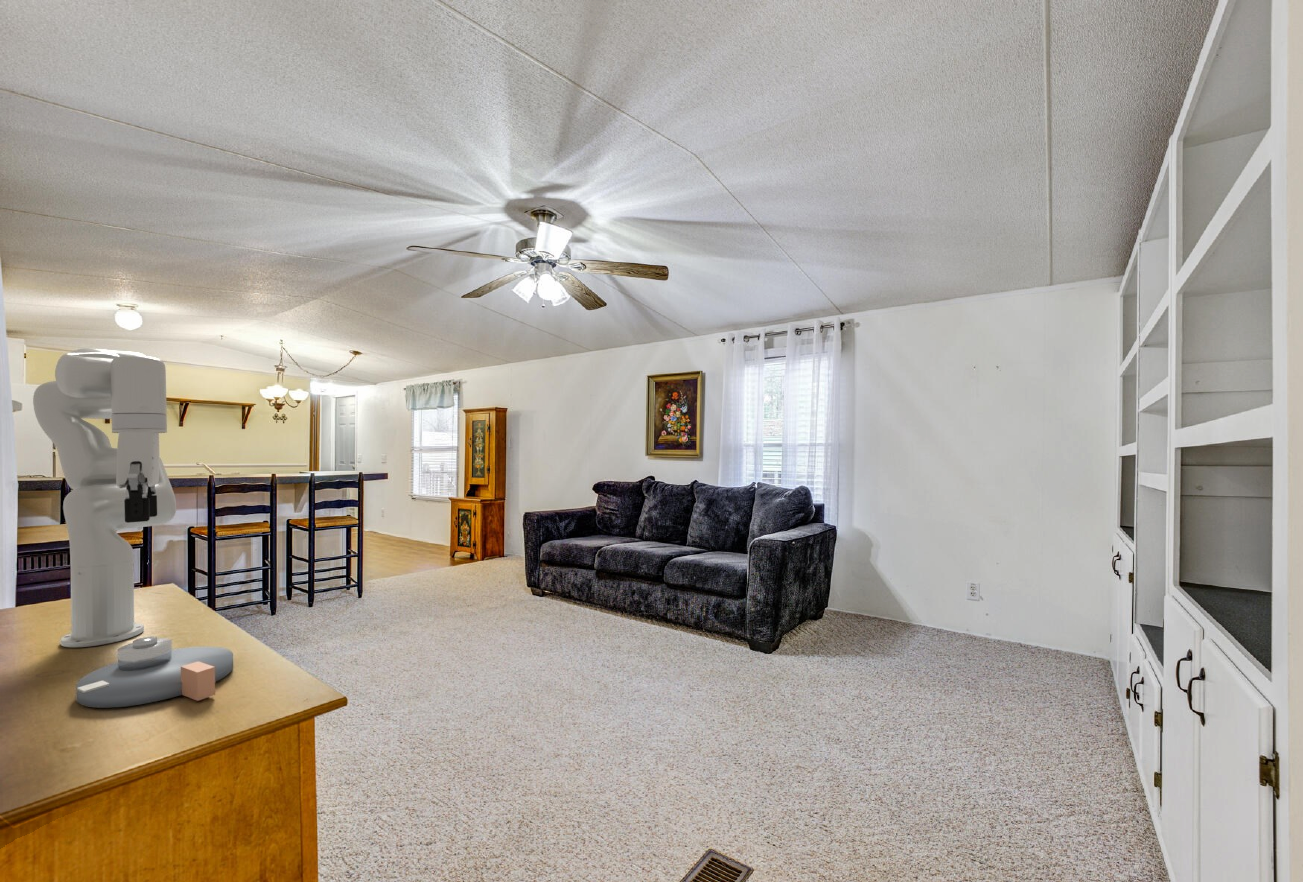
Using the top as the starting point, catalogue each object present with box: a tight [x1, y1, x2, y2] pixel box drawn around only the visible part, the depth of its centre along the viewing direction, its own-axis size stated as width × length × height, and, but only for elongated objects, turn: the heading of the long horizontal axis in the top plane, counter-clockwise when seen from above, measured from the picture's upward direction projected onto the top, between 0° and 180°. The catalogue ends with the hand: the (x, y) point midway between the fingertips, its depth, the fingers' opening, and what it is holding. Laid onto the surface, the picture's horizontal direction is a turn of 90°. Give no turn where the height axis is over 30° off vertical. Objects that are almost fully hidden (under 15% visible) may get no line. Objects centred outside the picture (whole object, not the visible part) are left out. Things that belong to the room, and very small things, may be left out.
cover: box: [117, 636, 173, 671], centre depth 100 cm, size 7×7×4 cm
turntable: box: [75, 646, 234, 709], centre depth 97 cm, size 25×20×4 cm
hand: (141, 519), depth 106 cm, fingers open, 9 cm apart
